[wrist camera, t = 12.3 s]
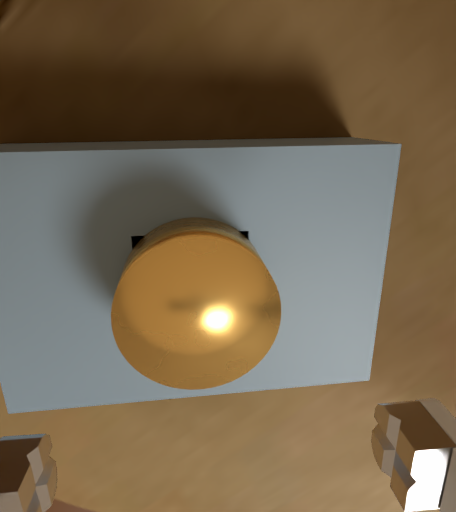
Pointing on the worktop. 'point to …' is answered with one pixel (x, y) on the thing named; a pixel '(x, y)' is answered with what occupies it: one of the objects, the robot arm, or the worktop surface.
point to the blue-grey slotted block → (176, 207)
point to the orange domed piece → (195, 305)
